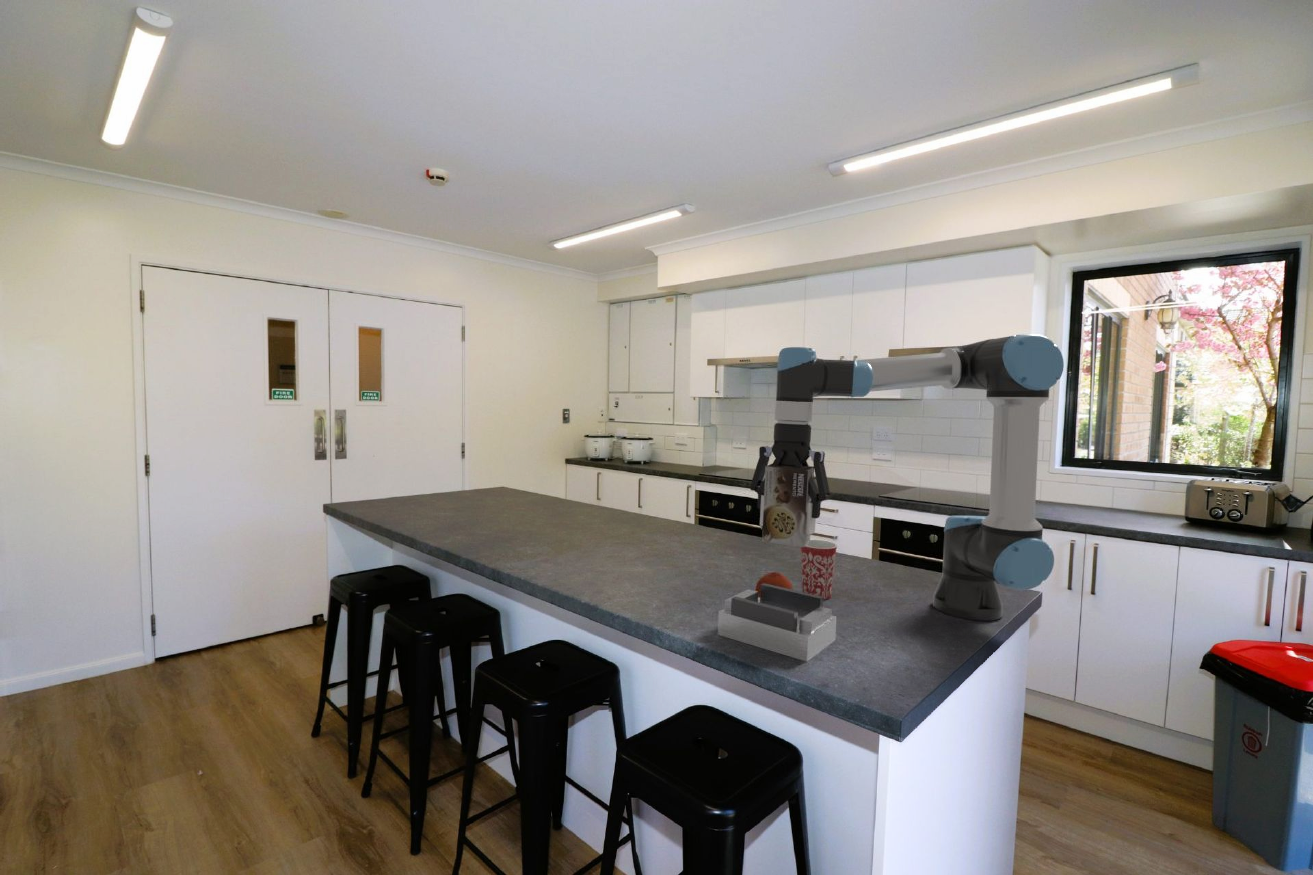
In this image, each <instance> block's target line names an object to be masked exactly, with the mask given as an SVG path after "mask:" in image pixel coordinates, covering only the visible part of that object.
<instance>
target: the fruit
mask: <svg viewBox="0 0 1313 875" xmlns="http://www.w3.org/2000/svg"><path fill="white" fill-rule="evenodd" d="M763 583H765V584H770V585H774V586H778V587H783V588H787V589H791V590H794V589H793V586H792V584H791V581H790V580H789V579H788V578H787V577H786V576H785V575H783V574H782V573H780V572H778V571H777V572H776V571H775V572H774V571H773V572H772V571H771V572H768V573H766V574H764V575H763V576H761V577H760V579H759V580H758V581H757V583H756V585H755V589H754V591H758V597H759V598H760V590H761V584H763Z"/></svg>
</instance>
